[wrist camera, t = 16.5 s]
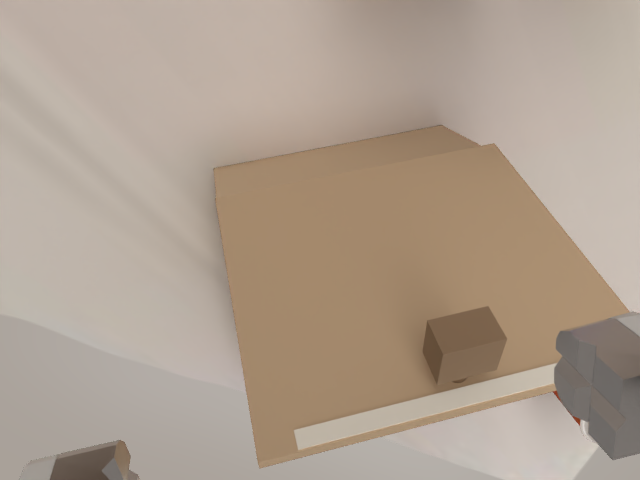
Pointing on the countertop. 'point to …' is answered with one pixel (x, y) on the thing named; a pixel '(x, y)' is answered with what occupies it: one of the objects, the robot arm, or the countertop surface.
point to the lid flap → (398, 298)
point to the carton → (337, 159)
